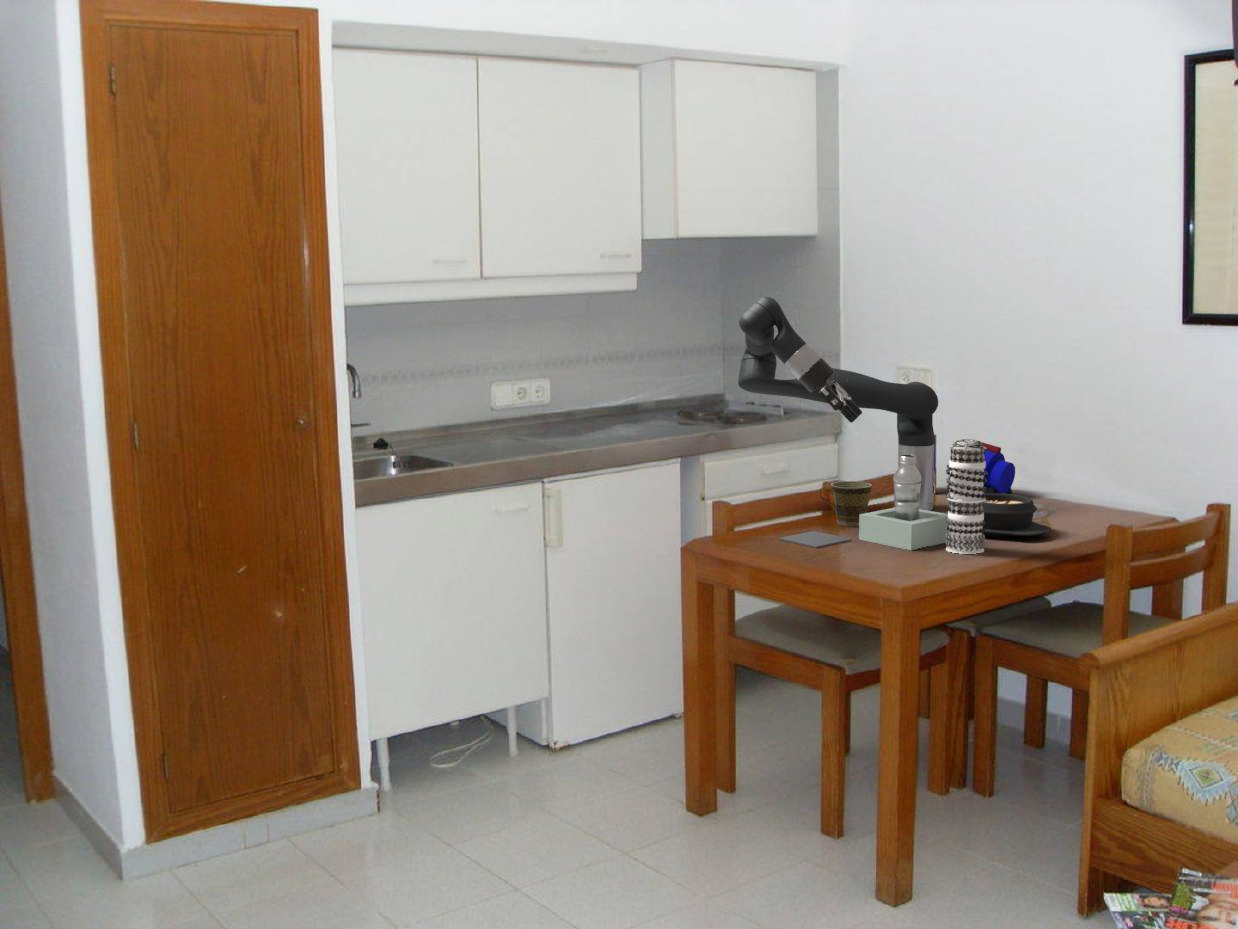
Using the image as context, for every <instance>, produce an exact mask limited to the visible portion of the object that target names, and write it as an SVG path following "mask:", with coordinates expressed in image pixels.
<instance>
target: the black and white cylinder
mask: <svg viewBox="0 0 1238 929" xmlns="http://www.w3.org/2000/svg"><path fill="white" fill-rule="evenodd" d="M982 442H983V441H981V440H978V439H970V438H969V439H967V438H966V439H965V438H964V439H957V440H955V441H954V442H953V444H952V445H951V446H949V448H950V457H949V464H946V468H947V469H946V470H945V474H946V475H948V477H946V480H945V481H946V483H947V484H946V486H945V488H946V490H947V491H949V492H948V493H947V494H946V500H947V501H948V511H947V514H948V519H947V520H946V523H947V524H949V525H948V526H946V530H948V533H946V538H947V540H946V543H945V545H946V548H945V551H946V552H948V553H950V552H952V553H951V554H954V553H959V554H958V555H962V554H975V555H977V554H976V553H981V552H983V553H985V549H984V547H985V546H986V544H985V541H984V540H985V539H986V536H985V535H984V534H983V533H982V532H984V531H985V528H984V527H983V525H985V520H984V512H983V503H984V501H986V497H987V495H985V494H984V493H983V492H985V491H987V488H986V487H985V486H983V483H984V482H985V483H986V482H988V479H986V478H984V476H986V475H988V472H987V471H986V470H984V468H985V463H986V461H985V449H987V447H984V446H983V444H982ZM981 554H982V553H981Z"/></svg>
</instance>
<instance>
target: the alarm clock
mask: <svg viewBox="0 0 1238 929" xmlns="http://www.w3.org/2000/svg"><path fill="white" fill-rule="evenodd" d="M981 442H982V444H983V446H984V447H987V449H985V461H986V463H985V468H984V470H986V471H987V472H988V475H986V476H984V478H986V479H988V482H986V483H985V482H984V483H983V486H985V487H986V488H987V491H985V492H983V493H1004V494H1013V491H1012V486H1013V484H1014V480H1015V477H1016V466H1015V464H1014V463H1013V462H1010V461H1006V458H1005V455H1004V454H1003V453H1002V447H1001V446H996V445H993V444H990V443H987V442H983V441H981Z"/></svg>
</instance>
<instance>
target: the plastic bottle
mask: <svg viewBox="0 0 1238 929" xmlns="http://www.w3.org/2000/svg"><path fill="white" fill-rule="evenodd" d="M899 463H900V464H901V465H900V467H899V468H898V467H897V470H896V471H895V472H894V475H893V476H892V482H893V488H894V489H893V491H894V490H895V500H896V502H895V516H894V518H895V519H901V520H906V521H914V520H919V519H920V517H919V495H920V488H921V482H922V478H921V474H920V473H919V471H918V469H917V468H916V467H915V464H916V455H900V461H899Z"/></svg>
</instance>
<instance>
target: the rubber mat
mask: <svg viewBox="0 0 1238 929" xmlns="http://www.w3.org/2000/svg"><path fill="white" fill-rule="evenodd" d="M778 540H779V541H781V542H783V541H784V542H787V543H791V544H795V545H796V544H797V545H800V546H805V547H810V548H813V549H818V548H823V547H824V548H825V547H828V546H832V545H834V546H835V545H839V544H842V543H847V542H852V541H853V540H852V538H849V537H844V536H839V535H835V534H829V533H825V532H821V531H816V530H814V531H808V532H804V533H803V532H802V533H797V534H793V535H788V536H784V537H783V536H782V537H779V538H778Z"/></svg>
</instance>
